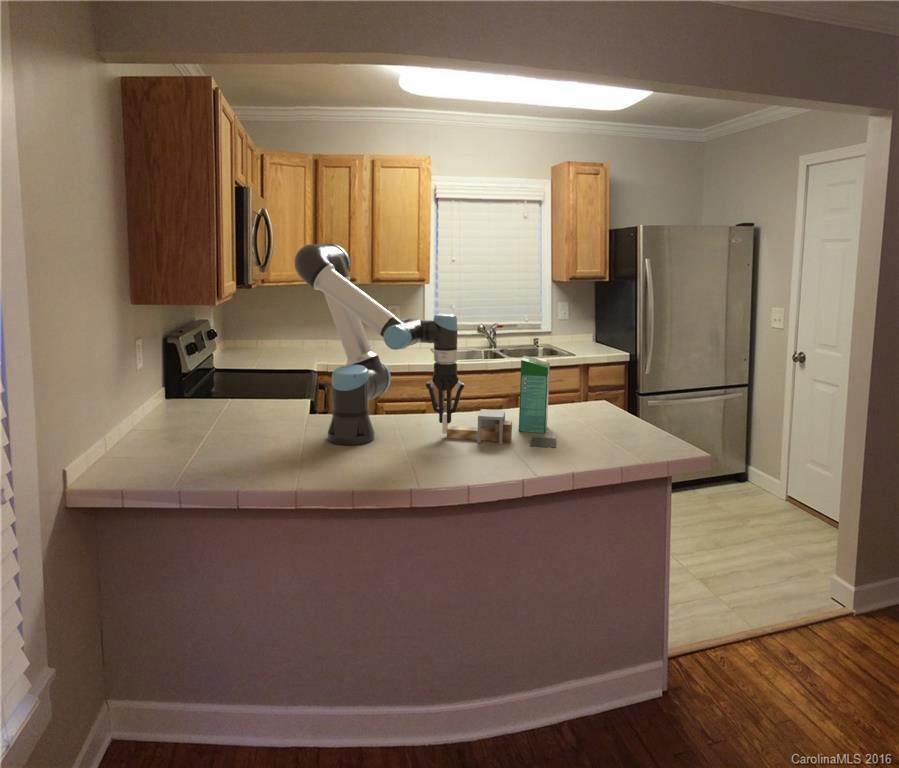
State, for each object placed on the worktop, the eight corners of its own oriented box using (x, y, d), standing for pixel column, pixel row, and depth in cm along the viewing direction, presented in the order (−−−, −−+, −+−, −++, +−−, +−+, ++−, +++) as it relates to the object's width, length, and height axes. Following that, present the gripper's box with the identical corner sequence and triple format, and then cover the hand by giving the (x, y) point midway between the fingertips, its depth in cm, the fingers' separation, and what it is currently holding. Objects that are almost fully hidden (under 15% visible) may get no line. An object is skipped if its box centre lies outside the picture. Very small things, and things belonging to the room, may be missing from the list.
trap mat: (530, 446, 228) (530, 445, 228) (531, 437, 238) (531, 437, 238) (555, 447, 227) (555, 447, 227) (556, 439, 237) (556, 438, 237)
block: (494, 441, 233) (495, 424, 231) (496, 437, 238) (496, 420, 236) (510, 442, 232) (510, 424, 231) (511, 438, 237) (512, 420, 235)
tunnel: (477, 442, 231) (477, 415, 229) (480, 435, 240) (481, 409, 238) (502, 444, 230) (502, 417, 228) (504, 436, 239) (505, 410, 237)
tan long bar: (446, 437, 236) (447, 429, 236) (448, 434, 240) (448, 425, 240) (495, 440, 234) (495, 431, 233) (496, 437, 238) (496, 428, 237)
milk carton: (545, 433, 243) (548, 360, 238) (518, 431, 245) (521, 359, 240) (547, 426, 252) (550, 356, 247) (521, 424, 254) (523, 354, 248)
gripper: (423, 363, 229) (423, 434, 234) (463, 364, 227) (463, 436, 232) (427, 359, 236) (427, 428, 241) (467, 360, 234) (466, 430, 239)
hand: (445, 432), depth 237 cm, fingers closed
